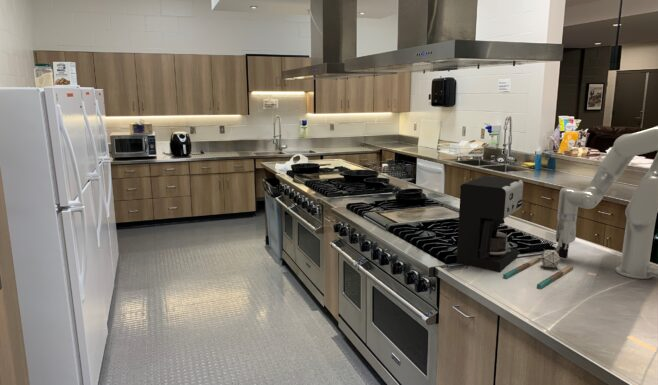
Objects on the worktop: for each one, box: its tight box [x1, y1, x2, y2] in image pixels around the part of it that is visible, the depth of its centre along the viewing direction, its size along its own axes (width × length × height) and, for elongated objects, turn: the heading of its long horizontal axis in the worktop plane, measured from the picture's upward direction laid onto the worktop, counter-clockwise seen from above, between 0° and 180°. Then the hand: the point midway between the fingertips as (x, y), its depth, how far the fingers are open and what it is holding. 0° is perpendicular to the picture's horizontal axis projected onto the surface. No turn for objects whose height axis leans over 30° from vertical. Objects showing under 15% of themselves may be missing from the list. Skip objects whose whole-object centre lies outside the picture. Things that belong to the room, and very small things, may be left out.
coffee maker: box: [456, 175, 524, 273], centre depth 205 cm, size 28×20×35 cm
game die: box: [538, 248, 564, 270], centre depth 200 cm, size 9×8×10 cm
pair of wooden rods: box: [502, 256, 574, 290], centre depth 194 cm, size 15×30×2 cm, turn 133°
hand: (562, 257), depth 210 cm, fingers closed
